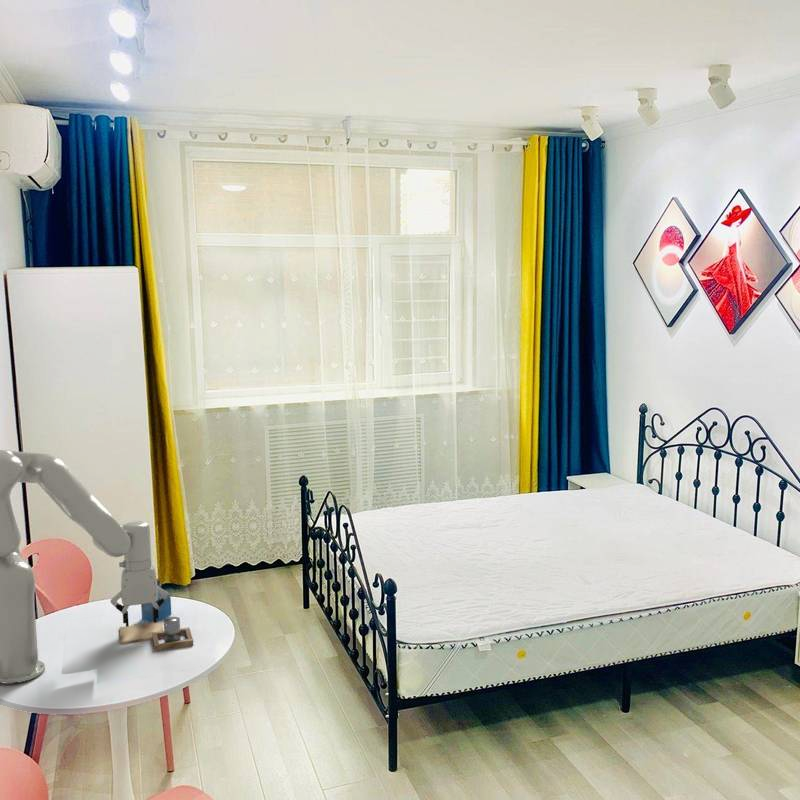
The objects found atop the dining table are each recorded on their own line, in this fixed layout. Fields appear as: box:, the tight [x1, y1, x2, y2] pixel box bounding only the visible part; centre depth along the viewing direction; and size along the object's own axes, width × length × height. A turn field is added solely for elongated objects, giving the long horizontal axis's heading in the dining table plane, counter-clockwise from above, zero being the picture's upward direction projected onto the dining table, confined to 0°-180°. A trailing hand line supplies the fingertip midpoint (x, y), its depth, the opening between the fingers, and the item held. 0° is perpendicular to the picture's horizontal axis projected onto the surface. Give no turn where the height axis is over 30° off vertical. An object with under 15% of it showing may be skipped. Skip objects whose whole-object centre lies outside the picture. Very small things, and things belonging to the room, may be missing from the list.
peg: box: [163, 616, 182, 643], centre depth 230 cm, size 4×4×6 cm
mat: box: [119, 620, 165, 645], centre depth 237 cm, size 12×12×1 cm
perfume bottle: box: [140, 578, 172, 623], centre depth 249 cm, size 6×6×12 cm
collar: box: [152, 627, 194, 652], centre depth 231 cm, size 10×10×2 cm
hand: (141, 622), depth 237 cm, fingers open, 7 cm apart
